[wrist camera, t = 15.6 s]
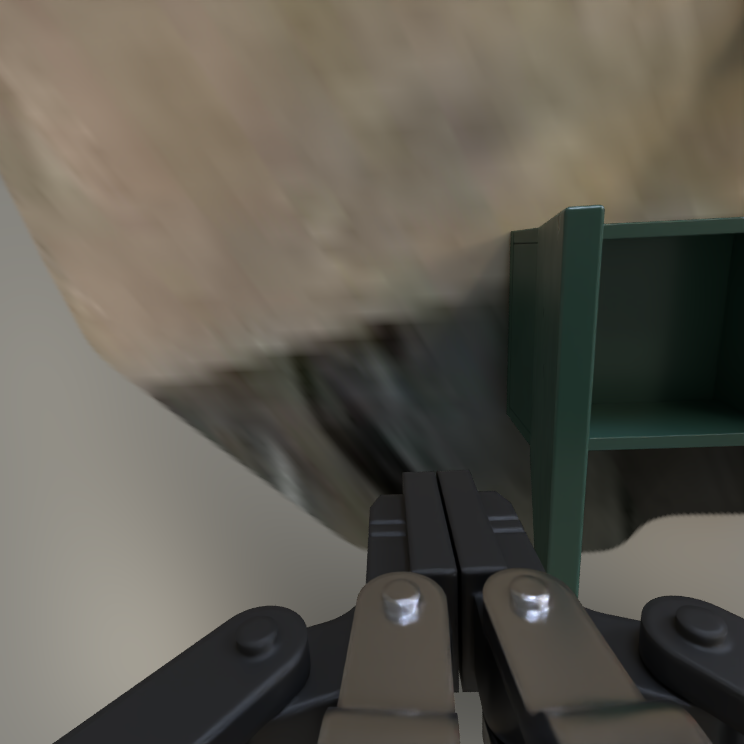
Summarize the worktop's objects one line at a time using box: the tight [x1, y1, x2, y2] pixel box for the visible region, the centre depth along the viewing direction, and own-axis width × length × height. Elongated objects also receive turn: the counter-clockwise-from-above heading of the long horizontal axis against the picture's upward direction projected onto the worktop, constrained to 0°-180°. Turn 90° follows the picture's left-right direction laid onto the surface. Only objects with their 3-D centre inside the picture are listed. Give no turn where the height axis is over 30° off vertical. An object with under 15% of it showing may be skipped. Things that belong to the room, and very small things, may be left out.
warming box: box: [507, 217, 744, 451], centre depth 29 cm, size 15×13×7 cm
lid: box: [530, 205, 605, 598], centre depth 19 cm, size 16×13×1 cm
